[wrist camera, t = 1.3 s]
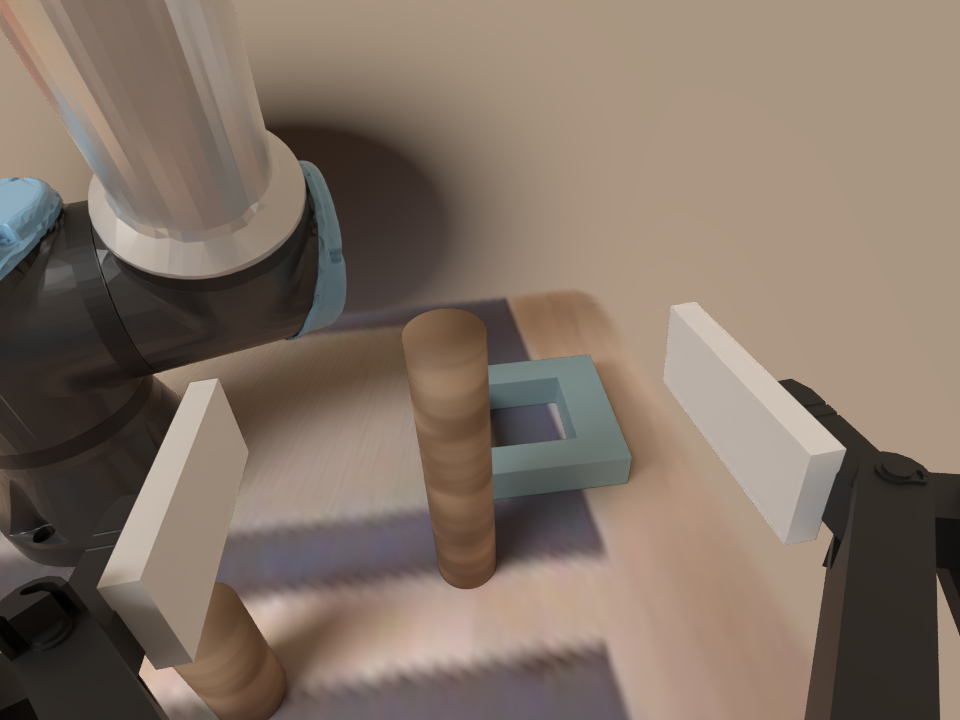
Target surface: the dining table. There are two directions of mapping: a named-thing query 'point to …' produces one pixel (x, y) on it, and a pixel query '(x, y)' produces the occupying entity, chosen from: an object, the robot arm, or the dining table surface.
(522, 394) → the hollow square block
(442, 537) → the tall peg
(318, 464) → the dining table surface
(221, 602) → the short peg
